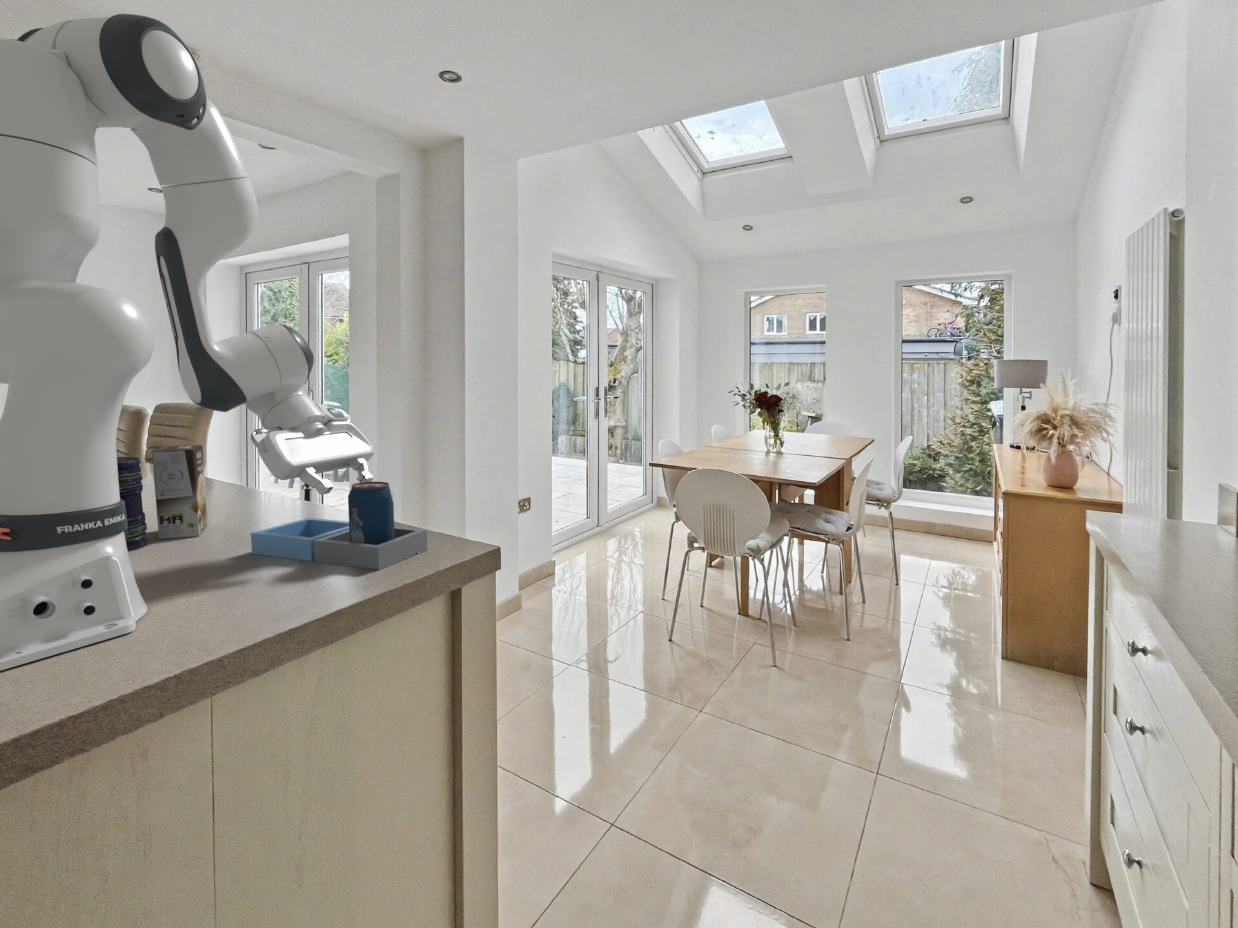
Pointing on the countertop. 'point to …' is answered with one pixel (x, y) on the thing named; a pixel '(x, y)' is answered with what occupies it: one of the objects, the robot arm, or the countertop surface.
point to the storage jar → (132, 501)
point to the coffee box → (180, 491)
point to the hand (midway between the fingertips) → (349, 486)
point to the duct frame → (335, 544)
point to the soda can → (371, 513)
